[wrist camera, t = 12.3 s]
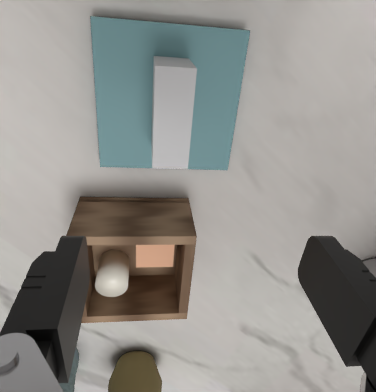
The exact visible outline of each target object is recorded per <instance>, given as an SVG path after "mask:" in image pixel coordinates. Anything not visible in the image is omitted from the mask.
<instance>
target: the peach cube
mask: <svg viewBox="0 0 376 392" xmlns="http://www.w3.org/2000/svg"><path fill="white" fill-rule="evenodd" d="M174 247H175V245H136V267H173V260H174Z"/></svg>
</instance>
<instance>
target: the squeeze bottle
mask: <svg viewBox="0 0 376 392" xmlns="http://www.w3.org/2000/svg"><path fill="white" fill-rule="evenodd" d="M161 388H162V380H161V377H160V375H159V372H158V369H157V366H156V364H155V361H154V358H153V356H152V355H150V354H149V353H146V352H143V351H133V352H128V353H126V354H124V355H122V356H121V357H120V358H119V359H118V362H117V364H116V366H115V369H114V371H113V373H112V375H111V378H110V380H109V385H108V392H161Z"/></svg>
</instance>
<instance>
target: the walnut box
mask: <svg viewBox="0 0 376 392" xmlns="http://www.w3.org/2000/svg"><path fill="white" fill-rule="evenodd" d="M66 236H85V237H86V240H87V249H88V259H89V269H90V280H89V288H88V293H87V298H86V302H85V307H84V312H83V316H82V321H81V323H94V322H119V321H144V320H169V319H187V311H188V303H189V295H190V287H191V278H192V270H193V262H194V254H195V245H196V237H197V236H196V231H195V227H194V222H193V217H192V213H191V208H190V203H189V199H188V198H121V197H80V199H79V201H78V204H77V207H76V210H75V213H74V216H73V218H72V221H71V224H70V227H69V230H68V232H67V235H66ZM136 245H175V247H174V260H173V267H136ZM109 250H120V251H123V252H124V253H126V254H127V255H128V257H129V259H130V264H129V278H128V288H127V290H126V292H125V293H124V294H122V295H120V296H117V297H106V296H103V295H101V294H100V293H98V292H97V290H96V289H95V282H96V276H97V271H98V266H99V261H100V257H101V255H102V254H103V253H105V252H106V251H109Z"/></svg>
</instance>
